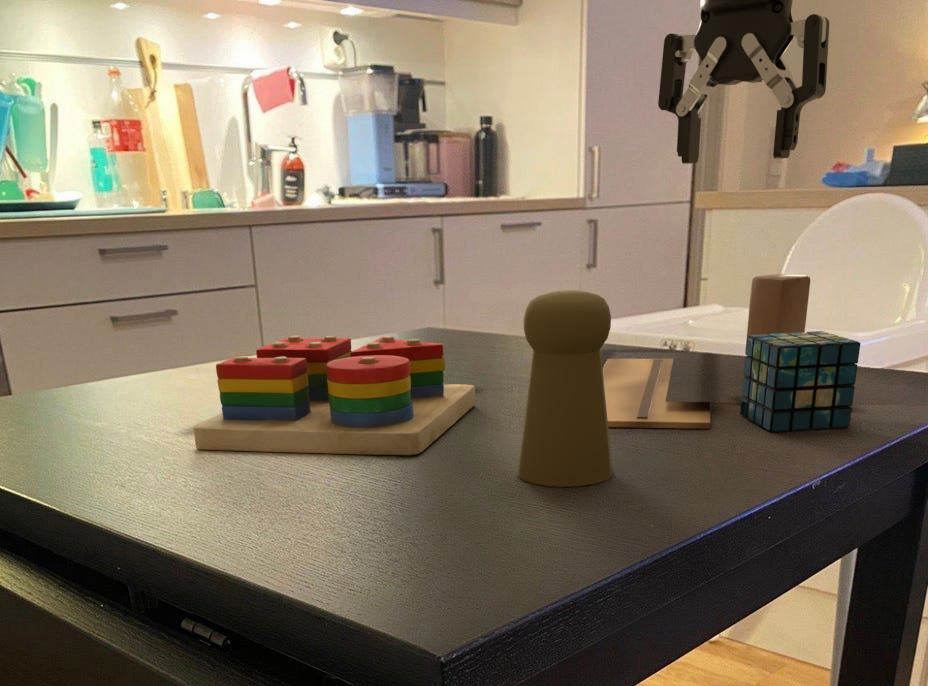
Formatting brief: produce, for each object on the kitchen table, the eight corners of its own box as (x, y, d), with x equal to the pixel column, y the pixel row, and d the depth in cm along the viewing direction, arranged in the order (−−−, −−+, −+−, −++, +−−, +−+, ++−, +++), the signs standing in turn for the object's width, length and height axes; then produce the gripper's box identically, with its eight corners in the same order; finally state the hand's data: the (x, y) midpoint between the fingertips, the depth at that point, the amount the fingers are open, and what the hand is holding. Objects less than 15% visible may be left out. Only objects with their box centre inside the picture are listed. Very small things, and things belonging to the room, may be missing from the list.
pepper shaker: (498, 476, 62) (495, 294, 57) (555, 456, 66) (557, 285, 61) (575, 492, 58) (579, 299, 54) (631, 470, 62) (639, 288, 57)
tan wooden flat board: (709, 363, 96) (710, 357, 96) (710, 429, 71) (710, 421, 71) (607, 363, 98) (607, 357, 98) (574, 426, 74) (574, 418, 73)
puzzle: (739, 415, 75) (746, 334, 73) (813, 410, 76) (823, 330, 73) (770, 432, 70) (778, 346, 67) (850, 427, 70) (862, 341, 68)
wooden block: (803, 362, 95) (812, 275, 91) (773, 367, 93) (782, 278, 90) (771, 357, 98) (780, 273, 95) (742, 362, 96) (750, 276, 93)
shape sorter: (288, 401, 87) (280, 330, 84) (477, 404, 82) (475, 330, 80) (193, 449, 71) (180, 365, 69) (418, 456, 67) (414, 367, 65)
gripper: (853, -65, 79) (828, 157, 86) (689, -37, 87) (678, 164, 94) (822, -81, 74) (798, 157, 80) (651, -49, 82) (642, 165, 89)
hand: (733, 160), depth 87 cm, fingers open, 8 cm apart
